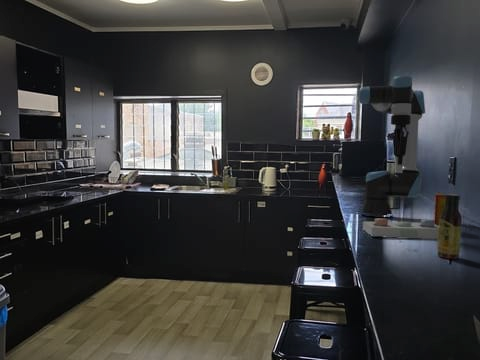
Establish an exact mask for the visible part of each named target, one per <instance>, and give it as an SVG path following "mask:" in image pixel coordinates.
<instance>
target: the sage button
mask: <svg viewBox="0 0 480 360" xmlns="http://www.w3.org/2000/svg"><path fill="white" fill-rule="evenodd" d="M397 222H398V225H397V226H399V227H411V223H412V222H409V221H397Z"/></svg>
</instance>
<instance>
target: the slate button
mask: <svg viewBox="0 0 480 360" xmlns="http://www.w3.org/2000/svg"><path fill="white" fill-rule="evenodd" d="M420 223H421V227H430V228H434V226H435V220H433V219H428V218H426V219H425V218H424V219H423V218H422V219H420Z"/></svg>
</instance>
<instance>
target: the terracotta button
mask: <svg viewBox="0 0 480 360" xmlns="http://www.w3.org/2000/svg"><path fill="white" fill-rule="evenodd" d="M373 222H374V226H388V222H389V218H374V221H373Z"/></svg>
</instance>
